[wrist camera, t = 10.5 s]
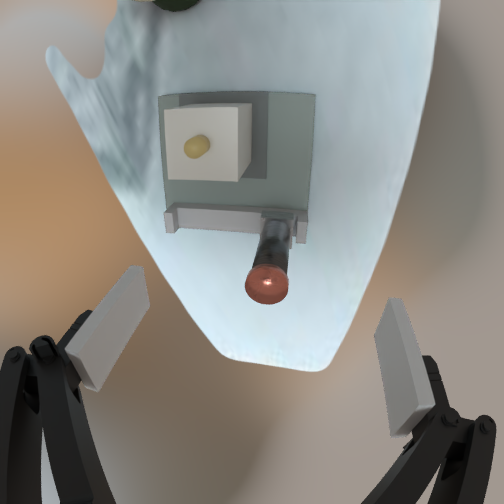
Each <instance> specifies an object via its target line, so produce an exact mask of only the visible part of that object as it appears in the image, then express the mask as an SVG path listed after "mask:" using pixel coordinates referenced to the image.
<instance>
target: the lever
mask: <svg viewBox="0 0 504 504" xmlns="http://www.w3.org/2000/svg"><path fill="white" fill-rule="evenodd" d="M293 222H294V213H292V212H280V211H266V210H263V211H262V214H261V217H260V241H259V245H258V248H257V252H256V256H255V259H254V263H253V267H252V269H251V270H250V271H249V273H248V275H247V279H246V282H245V289H246V292H247V294H248V295H249V297H250V298H251V299H253V300H254V301H256V302H258V303H261V304H275V303H278V302H280V301H282V300H283V299H284V298H285V297H286V295H287V293H288V285H289V280H288V276H287V268H288V257H289V249H291V246H292V235H293Z"/></svg>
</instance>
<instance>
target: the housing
mask: <svg viewBox="0 0 504 504" xmlns="http://www.w3.org/2000/svg"><path fill="white" fill-rule="evenodd" d="M164 123H165V141H166V157H167V170H168V179H169V180H211V181H234V182H238V181H239V179H240V178H241V176H242V175H243V173H244V171H245V170H246V168H247V167H248V165H249V164H250V162H251V143H252V103H206V104H190V105H185V106H180V107H175V108H170V109H165V110H164Z"/></svg>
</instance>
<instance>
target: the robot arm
mask: <svg viewBox="0 0 504 504" xmlns="http://www.w3.org/2000/svg"><path fill="white" fill-rule="evenodd" d="M149 307H150V303H149V298H148V292H147V287H146V282H145V275H144V269H143V267H141V266H134V265H131V266H130V267H129V268H128V269H127V271H126V272H125V273H124V274H123V275H122V276H121V278H120V279H119V280H118V281H117V282H116V284H115V285H114V286H113V287H112V288H111V290H110V291H109V292H108V293H107V295H106V296H105V297H104V299H102V301H101V302H100V303H99V305H98V306H97V307H96V308H95V310H94V311H91V310H87V311H85V312H84V313H82V314H81V315H80V316H79V317H78V318H77V319H76V321H75V322H74V324H72V326H71V327H70V329H68V331H67V332H66V333H65V335H64V336H63V337H62V339H61V340H60V341H59V342H58V344H57V345H55V342H54V340H53V339H52V338H51V337H50V336H46V335H44V336H40V337H37V338H36V339H35V340H33V341H32V343H31V344H30V348H29V350H30V351H31V353H32V355H31V354H27V353H26V352H25V350H24V349H23V348H22V347H20V346H16V347H12V348H11V349H9V350H8V351H7V353H6V354H5V357H4V360H3V363H2V367H1V370H0V504H42V497H41V445H42V429H43V430H44V437H45V442H46V447H47V452H48V457H49V462H50V466H51V470H52V474H53V478H54V481H55V485H56V489H57V492H58V496H59V499H60V504H116V502H115V499H114V497H113V495H112V492H111V490H110V487H109V485H108V482H107V480H106V477H105V474H104V472H103V469H102V466H101V463H100V460H99V457H98V455H97V451H96V448H95V445H94V442H93V438H92V435H91V431H90V428H89V424H88V420H87V416H86V413H85V409H84V405H83V400H82V396H81V391H80V388H79V386H78V385H79V383H80V381H81V380H82V382H83V384H84V386H85V387H86V388H88V389H91V390H93V391H96V392H99V390H100V389H101V387H102V385H103V383H104V381H105V380H106V378H107V376H108V375H109V373H110V371H111V369H112V368H113V366H114V364H115V363H116V361H117V359H118V357H119V356H120V354H121V352H122V351H123V349H124V347H125V346H126V344H127V342H128V341H129V339H130V337H131V336H132V334H133V332H134V331H135V329H136V328H137V326H138V324H139V323H140V321H141V319H142V318H143V316H144V315H145V313H146V312H147V310H148V308H149ZM374 338H375V343H376V348H377V353H378V358H379V363H380V369H381V374H382V380H383V386H384V392H385V398H386V405H387V412H388V420H389V428H390V436H391V438H399V437H406V436H407V435H408V434H409V433H410V432H411V431H412V435H413V438H412V439H411V440H410V441H409V442H408V443H407V444H406V445H405V446H404V447H403V448H404V450H403V452H402V453H401V455H400V456H399V457H398V459H397V460H396V461H395V463H394V464H393V465H392V467H391V468H390V469H389V471H388V472H387V473H386V475H385V476H384V477H383V478H382V480H381V481H380V482H379V483H378V484H377V486H376V487H375V488H374V489H373V490H372V492H371V493H370V494H369V495H368V496H367V497H366V498H365V500H364V501H363V502H362V503H361V504H416V502H417V501H418V499H419V498H420V497H421V495H422V493H423V492H424V491H425V489H426V487H427V486H428V484H429V483H430V481H431V479H432V478H433V476H434V474H435V473H436V471H437V469H438V468H439V466H440V469H439V472H438V475H437V478H436V481H435V484H434V487H433V490H432V493H431V496H430V498H429V501H428V504H483V502H484V498H485V494H486V489H487V486H488V481H489V476H490V471H491V465H492V460H493V453H494V446H495V438H496V424H495V422H494V420H493V419H492V418H491V417H490V416H488V415H481V416H479V417H478V418H477V419H476V420H475V421H474V420H469V419H465V418H461V417H460V415H459V413H458V412H457V411H456V410H455V409H453V408H451V407H450V406H449V402H448V399H447V395H446V392H445V389H444V385H443V382H442V381H441V380H442V379H441V376H440V374H439V370H438V366H437V363H436V362H435V361H434V360H433V358H432V357H431V356H422V355H421V352H420V349H419V346H418V343H417V340H416V337H415V334H414V331H413V328H412V325H411V322H410V319H409V317H408V314H407V311H406V309H405V306H404V303H403V301H402V299H399V298H389V299H388V301H387V304H386V307H385V309H384V312H383V314H382V317H381V319H380V322H379V325H378V327H377V329H376V332H375V334H374ZM440 464H441V465H440Z"/></svg>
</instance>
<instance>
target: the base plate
mask: <svg viewBox="0 0 504 504" xmlns="http://www.w3.org/2000/svg"><path fill="white" fill-rule="evenodd" d="M206 103H252V143H251V162H250V164H249V165H248V167H247V168H246V170H245V171H244V173H243V175H242V176H241V178H240V179H239V181H238V182H234V181H211V180H169V179H168V170H167V157H166V141H165V123H164V110H165V109H170V108H175V107H180V106H185V105H190V104H206ZM158 106H159V126H160V142H161V156H162V168H163V179H164V190H165V199H166V208H167V210H166V211H165V212H164V219H165V227H166V233H175V232H176V231H177V229H178V228H192V229H206V230H220V231H233V232H246V233H259V234H260V217H261V214H262V211H263V210H266V211H280V212H292V213H294V222H293V235H292V236H295V237H296V243H302V244H305V243H306V234H307V225H308V216H307V209H308V198H309V187H310V174H311V161H312V147H313V131H314V113H315V95H313V94H300V93H283V92H204V93H187V94H175V95H164V96H158Z"/></svg>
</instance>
